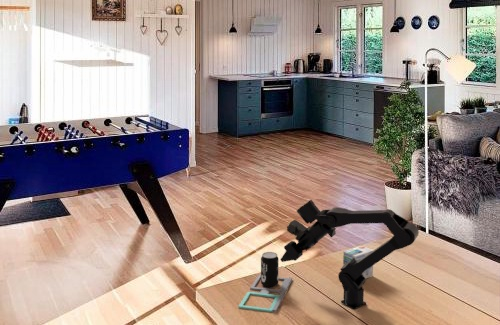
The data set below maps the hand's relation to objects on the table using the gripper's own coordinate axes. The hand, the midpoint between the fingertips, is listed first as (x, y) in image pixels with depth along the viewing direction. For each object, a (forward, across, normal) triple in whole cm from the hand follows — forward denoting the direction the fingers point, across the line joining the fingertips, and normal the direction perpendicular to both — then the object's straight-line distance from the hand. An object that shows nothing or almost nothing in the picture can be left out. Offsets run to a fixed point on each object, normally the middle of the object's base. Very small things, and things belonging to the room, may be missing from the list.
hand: (286, 256), depth 203 cm
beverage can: (+14, 0, +4) cm, 15 cm away
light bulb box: (-5, -23, +23) cm, 33 cm away
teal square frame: (+11, +15, +6) cm, 20 cm away
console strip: (+11, +7, +7) cm, 15 cm away
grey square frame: (+14, 0, +4) cm, 15 cm away
